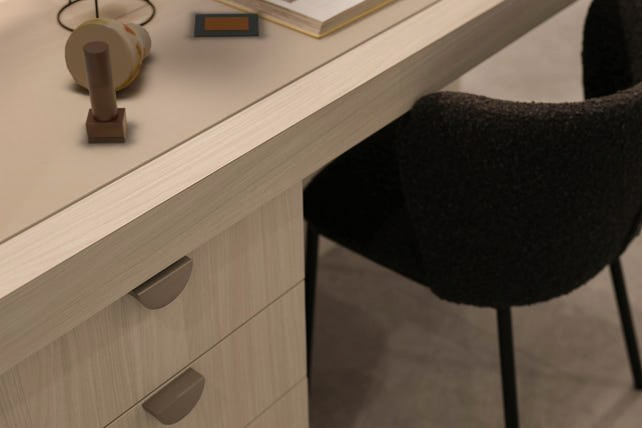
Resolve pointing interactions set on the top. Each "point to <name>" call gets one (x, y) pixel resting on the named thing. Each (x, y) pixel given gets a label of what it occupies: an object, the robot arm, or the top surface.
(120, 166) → the top surface
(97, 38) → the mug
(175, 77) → the top surface
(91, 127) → the stamp
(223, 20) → the mat
